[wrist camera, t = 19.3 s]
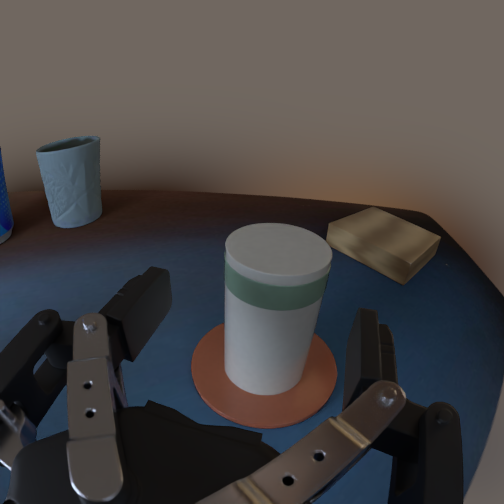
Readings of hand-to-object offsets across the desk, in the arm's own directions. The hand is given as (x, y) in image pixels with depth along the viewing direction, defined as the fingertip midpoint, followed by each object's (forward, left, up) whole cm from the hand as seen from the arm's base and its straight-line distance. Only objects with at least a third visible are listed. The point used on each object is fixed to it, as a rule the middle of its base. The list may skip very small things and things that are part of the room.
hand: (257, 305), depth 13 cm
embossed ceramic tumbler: (+41, 0, -11) cm, 43 cm away
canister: (+3, -5, -10) cm, 12 cm away
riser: (+7, -31, -11) cm, 33 cm away
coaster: (+3, -5, -11) cm, 12 cm away
